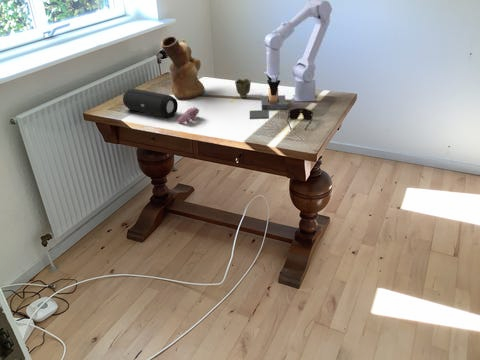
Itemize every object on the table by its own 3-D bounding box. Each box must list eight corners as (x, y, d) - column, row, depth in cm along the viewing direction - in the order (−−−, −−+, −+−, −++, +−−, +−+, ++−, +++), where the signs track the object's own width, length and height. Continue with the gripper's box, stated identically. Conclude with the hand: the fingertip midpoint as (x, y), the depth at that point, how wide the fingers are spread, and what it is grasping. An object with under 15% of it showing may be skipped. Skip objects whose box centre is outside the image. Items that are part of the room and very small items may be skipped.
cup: (251, 94, 216) (251, 78, 212) (250, 99, 210) (250, 83, 206) (236, 94, 217) (235, 78, 213) (235, 99, 211) (234, 83, 207)
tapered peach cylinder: (278, 103, 204) (278, 84, 200) (278, 106, 201) (278, 87, 196) (268, 103, 205) (268, 84, 200) (268, 107, 201) (268, 88, 196)
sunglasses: (313, 118, 188) (313, 108, 185) (310, 134, 179) (311, 123, 176) (288, 117, 190) (288, 107, 187) (285, 132, 181) (284, 122, 178)
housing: (284, 100, 207) (284, 95, 206) (286, 109, 198) (286, 104, 196) (261, 101, 208) (261, 96, 206) (261, 110, 198) (261, 105, 197)
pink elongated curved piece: (184, 128, 189) (188, 116, 185) (176, 122, 190) (180, 110, 186) (197, 120, 196) (202, 108, 192) (190, 114, 197) (194, 102, 193)
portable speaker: (123, 112, 204) (119, 91, 199) (138, 104, 212) (134, 84, 206) (166, 121, 193) (163, 100, 188) (180, 113, 200) (177, 92, 195)
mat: (267, 111, 197) (267, 109, 197) (268, 118, 190) (268, 117, 190) (249, 111, 198) (249, 110, 197) (249, 118, 191) (249, 117, 191)
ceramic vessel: (211, 91, 222) (205, 30, 206) (184, 106, 207) (176, 41, 191) (186, 86, 230) (179, 27, 214) (158, 101, 214) (149, 38, 198)
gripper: (263, 58, 198) (264, 86, 206) (264, 67, 186) (264, 98, 193) (279, 57, 198) (279, 86, 205) (281, 67, 186) (280, 97, 193)
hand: (273, 92), depth 199 cm, fingers open, 7 cm apart
